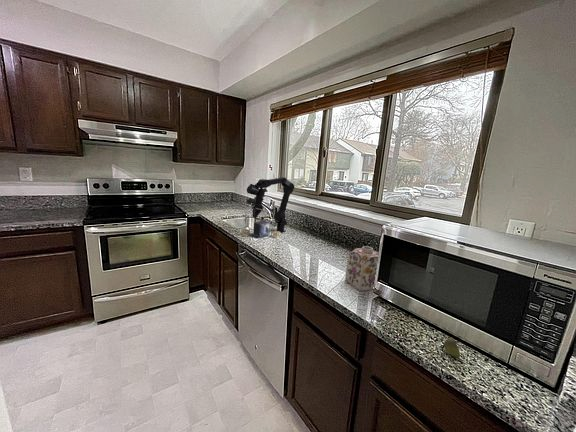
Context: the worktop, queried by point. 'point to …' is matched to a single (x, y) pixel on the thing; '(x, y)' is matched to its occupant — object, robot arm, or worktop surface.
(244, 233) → the marked block 1
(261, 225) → the small box
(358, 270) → the decorative jar
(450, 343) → the lime
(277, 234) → the marked block 2
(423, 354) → the worktop surface
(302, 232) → the worktop surface
